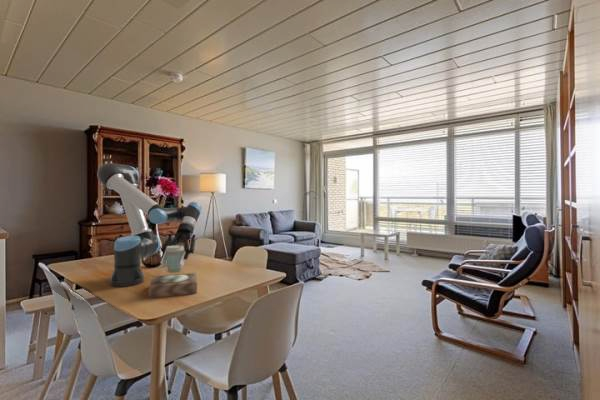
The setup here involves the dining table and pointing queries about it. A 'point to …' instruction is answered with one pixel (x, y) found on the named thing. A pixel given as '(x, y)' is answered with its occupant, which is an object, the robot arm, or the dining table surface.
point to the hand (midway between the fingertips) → (171, 264)
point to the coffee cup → (174, 257)
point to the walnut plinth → (173, 285)
